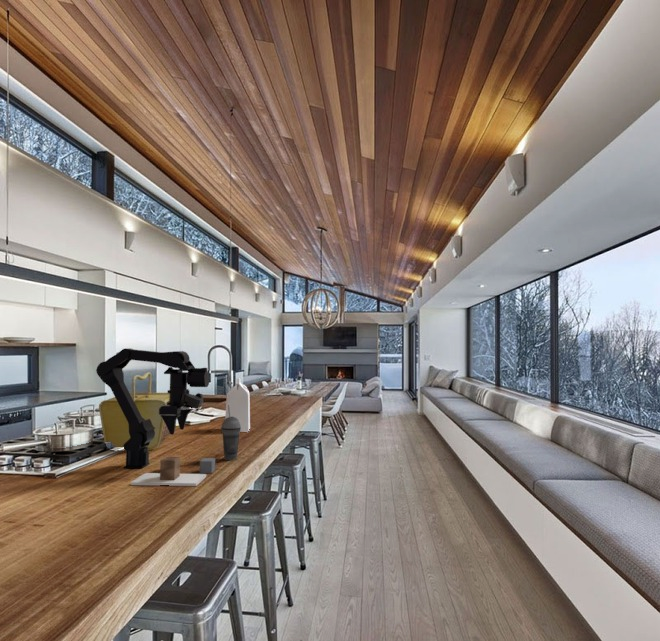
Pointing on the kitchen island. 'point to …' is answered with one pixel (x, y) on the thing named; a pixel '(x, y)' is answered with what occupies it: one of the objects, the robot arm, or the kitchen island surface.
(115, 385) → the robot arm
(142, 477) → the cream tile
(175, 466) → the walnut block
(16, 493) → the kitchen island surface
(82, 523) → the kitchen island surface
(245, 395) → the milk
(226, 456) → the beverage cup
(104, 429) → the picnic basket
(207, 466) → the charcoal block
